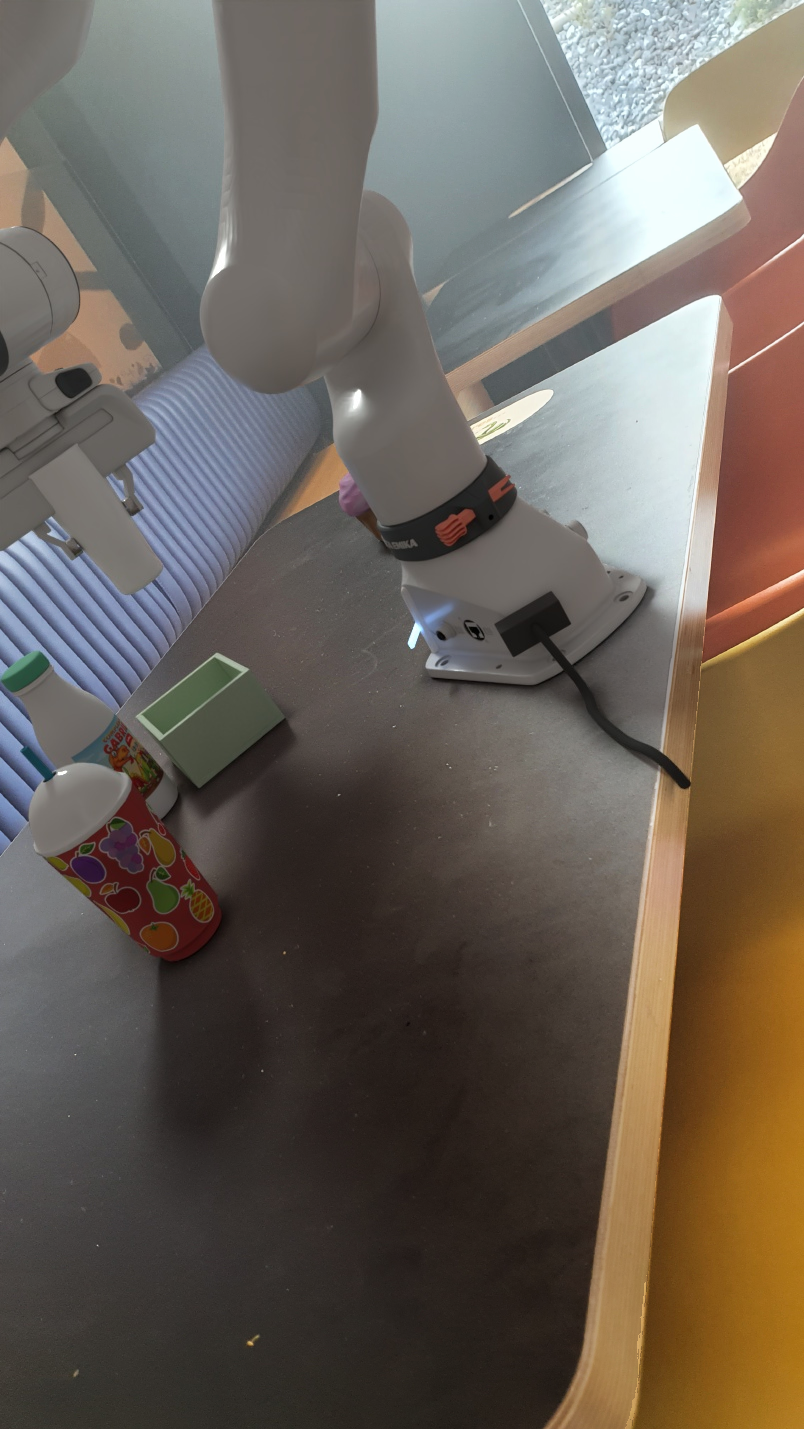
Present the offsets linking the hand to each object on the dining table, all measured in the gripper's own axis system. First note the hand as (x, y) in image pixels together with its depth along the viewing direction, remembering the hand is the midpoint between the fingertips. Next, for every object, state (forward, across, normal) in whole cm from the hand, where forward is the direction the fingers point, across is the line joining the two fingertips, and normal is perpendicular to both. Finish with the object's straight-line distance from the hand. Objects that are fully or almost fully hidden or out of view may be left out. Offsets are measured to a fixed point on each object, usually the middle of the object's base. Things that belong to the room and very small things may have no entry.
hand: (108, 533), depth 99 cm
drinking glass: (+6, 0, 0) cm, 6 cm away
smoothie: (+24, -18, -33) cm, 44 cm away
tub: (+24, -4, -5) cm, 25 cm away
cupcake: (+24, +33, +17) cm, 44 cm away
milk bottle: (+24, -15, -7) cm, 29 cm away
